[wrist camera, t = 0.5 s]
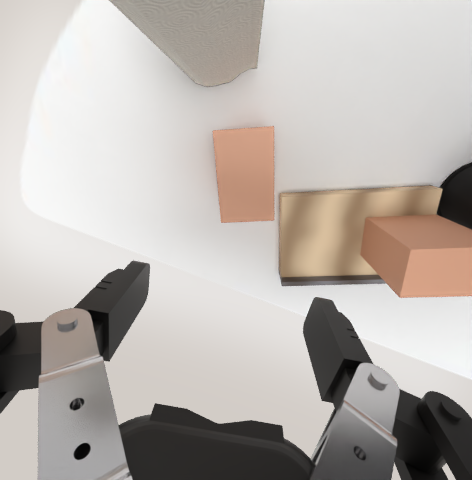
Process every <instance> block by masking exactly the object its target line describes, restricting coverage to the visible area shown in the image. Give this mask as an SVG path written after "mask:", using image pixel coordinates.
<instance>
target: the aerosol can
mask: <svg viewBox="0 0 472 480" xmlns="http://www.w3.org/2000/svg"><path fill="white" fill-rule="evenodd" d="M441 188H442V189H443V190H442V194H441V197H440V201H439V205H438V209H437V215H439V216H441V217H443V218H446V219H448V220H450V221H453V222H455V223H457V224H460V225H462V226H464V227H467V228H469V229H471V230H472V163H470V164H467V165H465V166H463V167H461V168H460V169H458V170H456V171H455V172H454V173H453V174H451V175H450V176H449V177H448V178H447V180H446V181H445V182H444V183H443V185H442V186H441Z"/></svg>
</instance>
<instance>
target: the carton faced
mask: <svg viewBox="0 0 472 480" xmlns="http://www.w3.org/2000/svg"><path fill="white" fill-rule="evenodd" d="M360 255H361V256H362V257H363V258H364V260H365V261H366V262H367V263H368V264H369V265H370V266H371V267H372V268H373V269H374V270H375V271H376V273H377V274H378V275H379V276H380V277H381V278H382V279H383V280H384V281H385V282H386V283H387V284H388V286H389V287H390V288H391V289H392V290H393V291H394V292H395V293H396V294H397V295H398V296H399V297H400V298H406V297H451V296H472V230H471V229H469V228H467V227H464V226H462V225H460V224H457V223H455V222H453V221H450V220H448V219H446V218H443V217H441V216H439V215H436V214H433V215H410V216H388V217H366V219H365V226H364V233H363V239H362V246H361V253H360Z"/></svg>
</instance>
